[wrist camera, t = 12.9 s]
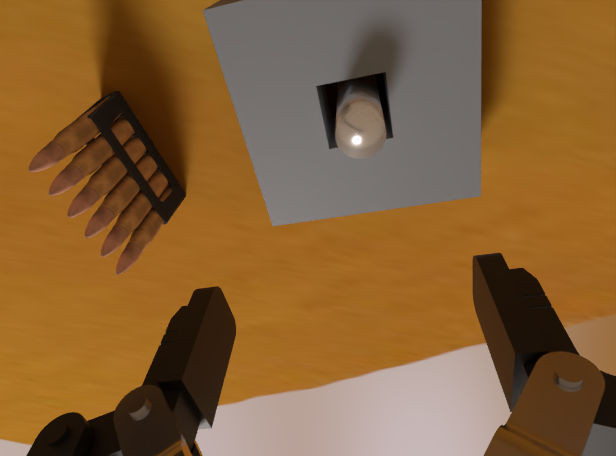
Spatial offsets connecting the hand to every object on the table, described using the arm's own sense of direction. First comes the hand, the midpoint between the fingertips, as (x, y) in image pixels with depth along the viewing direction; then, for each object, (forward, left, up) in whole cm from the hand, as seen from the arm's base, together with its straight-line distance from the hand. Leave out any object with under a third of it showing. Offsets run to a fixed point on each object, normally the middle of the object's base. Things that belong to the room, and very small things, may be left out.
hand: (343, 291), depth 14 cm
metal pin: (+1, -1, -24) cm, 24 cm away
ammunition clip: (-18, -3, -24) cm, 31 cm away
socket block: (+1, -1, -24) cm, 24 cm away
